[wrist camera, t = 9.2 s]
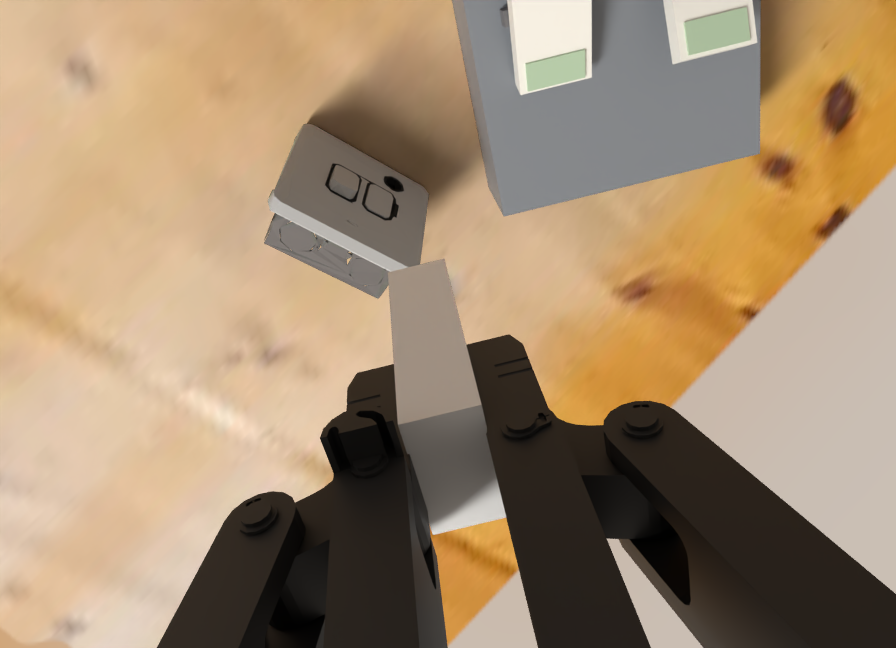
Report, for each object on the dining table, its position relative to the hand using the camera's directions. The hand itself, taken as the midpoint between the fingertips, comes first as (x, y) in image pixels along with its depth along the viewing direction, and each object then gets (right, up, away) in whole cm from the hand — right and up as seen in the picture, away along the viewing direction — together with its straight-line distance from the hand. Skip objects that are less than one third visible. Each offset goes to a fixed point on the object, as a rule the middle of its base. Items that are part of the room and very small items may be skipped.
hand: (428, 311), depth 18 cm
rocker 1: (+6, +16, +17) cm, 24 cm away
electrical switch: (-6, +9, +28) cm, 30 cm away
